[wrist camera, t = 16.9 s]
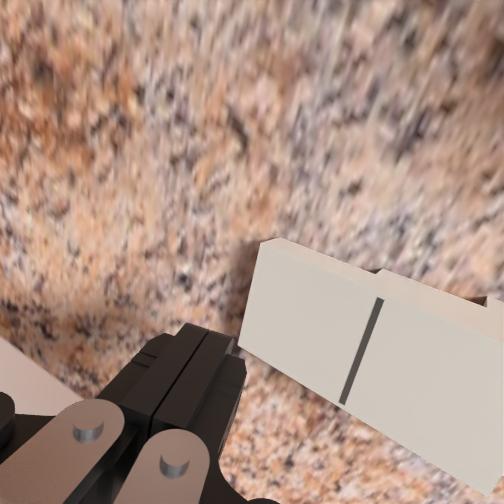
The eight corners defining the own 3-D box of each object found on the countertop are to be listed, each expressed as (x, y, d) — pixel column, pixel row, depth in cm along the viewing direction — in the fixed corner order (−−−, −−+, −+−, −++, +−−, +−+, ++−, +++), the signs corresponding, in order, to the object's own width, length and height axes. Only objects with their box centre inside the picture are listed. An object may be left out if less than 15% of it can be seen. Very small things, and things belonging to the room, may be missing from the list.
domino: (237, 345, 16) (487, 498, 11) (260, 243, 14) (569, 370, 9) (257, 332, 17) (487, 463, 12) (280, 237, 15) (559, 345, 10)
